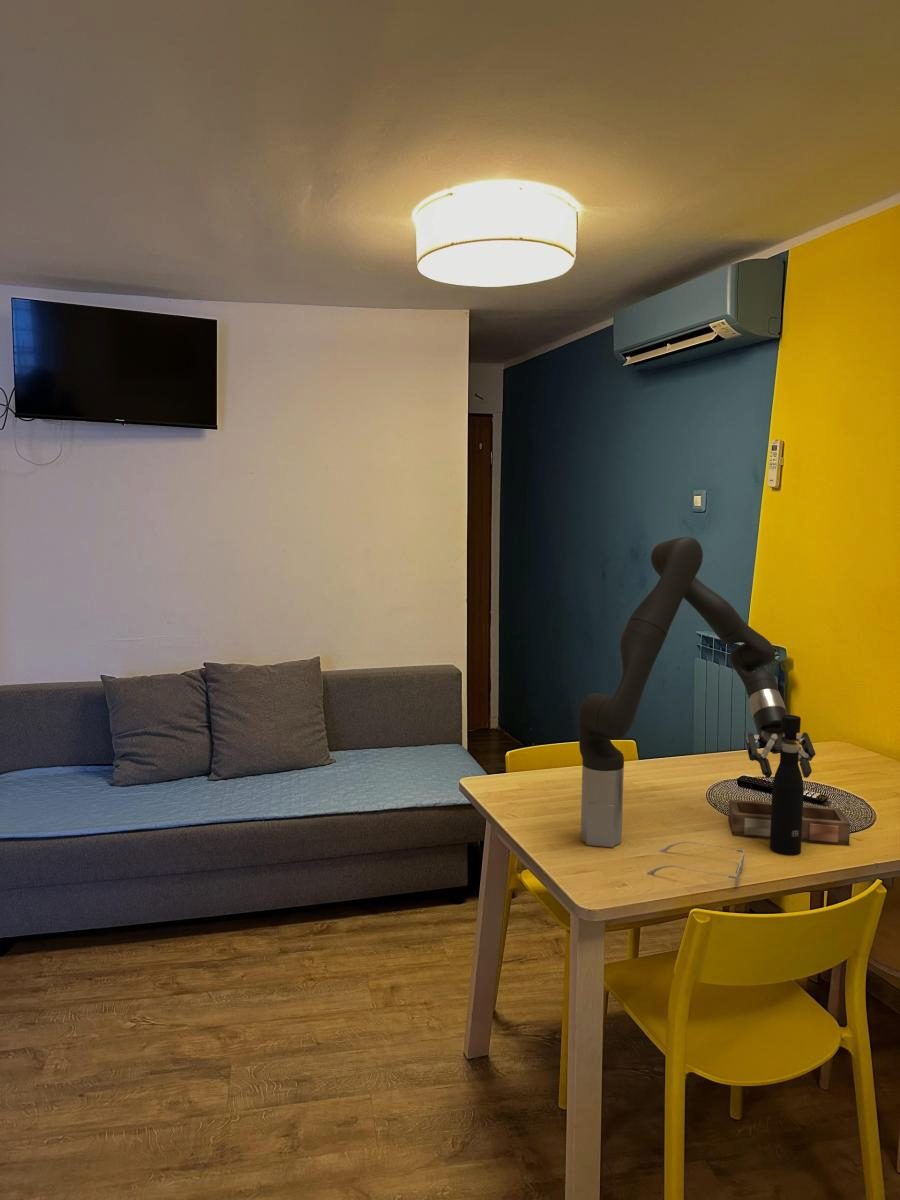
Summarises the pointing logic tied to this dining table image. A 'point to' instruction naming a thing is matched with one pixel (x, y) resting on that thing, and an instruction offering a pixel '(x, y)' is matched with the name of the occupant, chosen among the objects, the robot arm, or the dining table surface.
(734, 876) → the eyeglasses
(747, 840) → the dining table surface
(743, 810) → the socket board
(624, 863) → the dining table surface
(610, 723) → the robot arm
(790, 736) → the black insulated water bottle
